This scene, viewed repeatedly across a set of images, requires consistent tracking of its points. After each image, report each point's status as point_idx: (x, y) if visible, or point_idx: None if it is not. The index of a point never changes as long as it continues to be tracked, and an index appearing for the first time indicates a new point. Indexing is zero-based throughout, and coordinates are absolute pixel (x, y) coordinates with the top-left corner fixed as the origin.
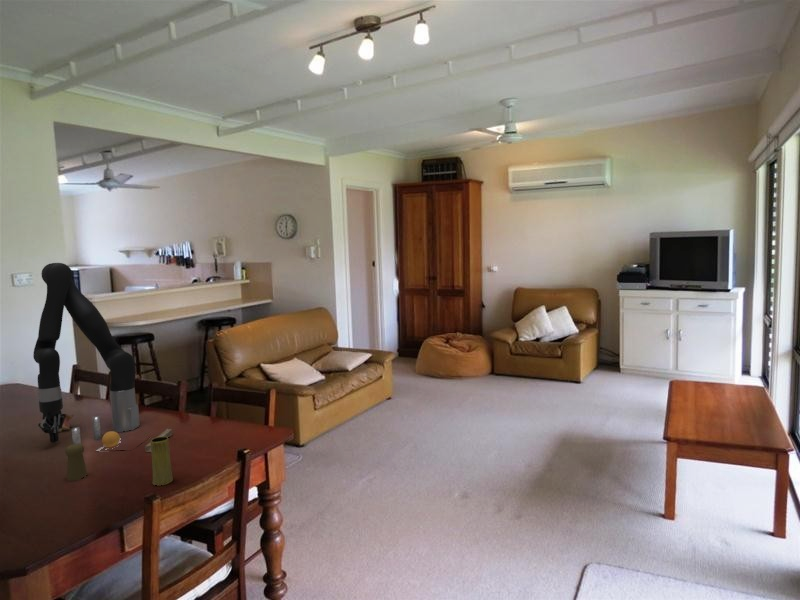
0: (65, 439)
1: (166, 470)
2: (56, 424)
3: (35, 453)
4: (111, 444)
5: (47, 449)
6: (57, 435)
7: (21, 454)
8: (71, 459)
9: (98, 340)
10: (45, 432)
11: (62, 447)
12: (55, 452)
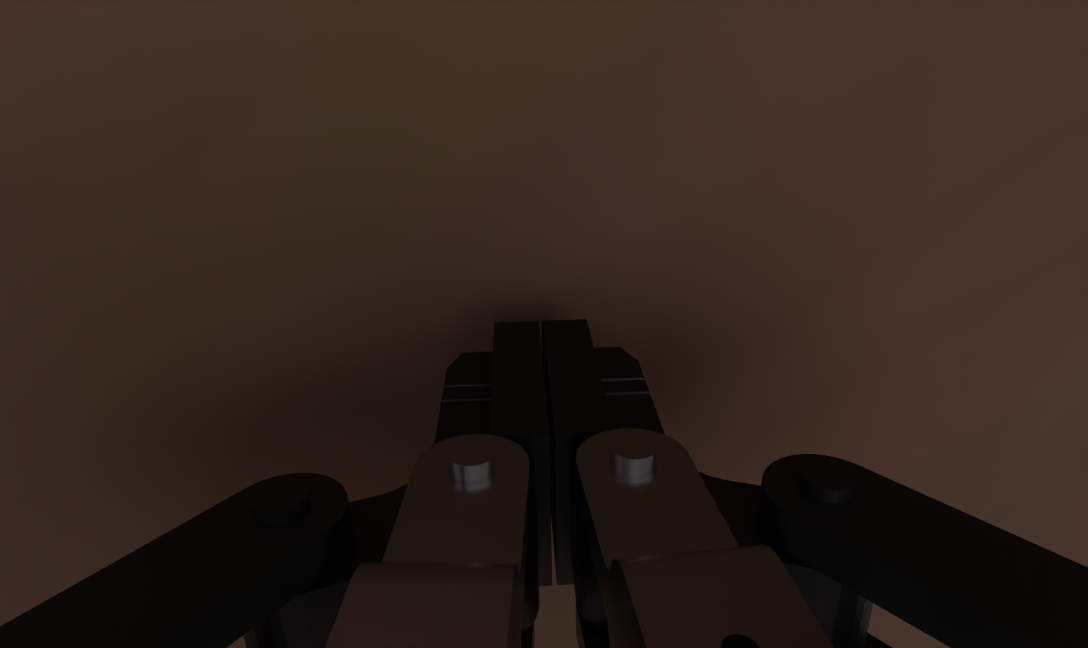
0: (176, 356)
1: None
2: (646, 618)
3: (918, 426)
4: None
5: (739, 344)
6: (520, 381)
7: None
8: None
9: None
10: (867, 636)
11: (657, 89)
12: (963, 43)
